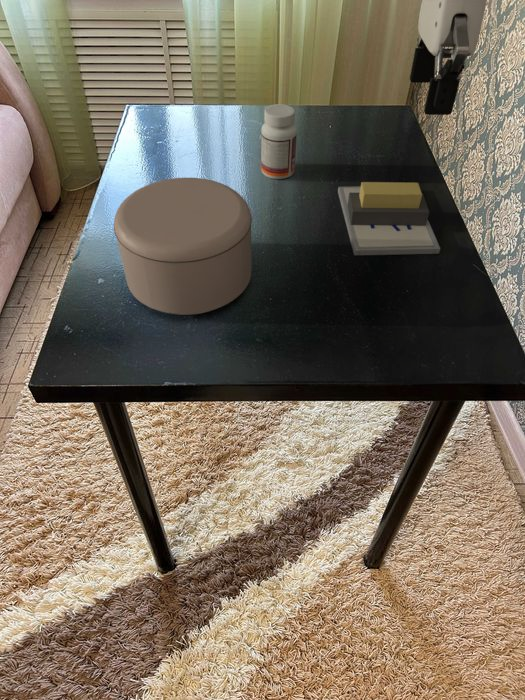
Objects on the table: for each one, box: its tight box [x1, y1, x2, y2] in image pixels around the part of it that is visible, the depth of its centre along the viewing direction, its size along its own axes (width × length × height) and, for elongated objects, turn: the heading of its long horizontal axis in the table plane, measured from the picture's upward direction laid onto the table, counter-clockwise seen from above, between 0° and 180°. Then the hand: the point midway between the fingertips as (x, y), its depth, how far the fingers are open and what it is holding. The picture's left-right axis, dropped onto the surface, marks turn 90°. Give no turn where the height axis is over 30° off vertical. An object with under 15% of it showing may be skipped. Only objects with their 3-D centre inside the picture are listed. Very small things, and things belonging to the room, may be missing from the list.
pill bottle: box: [260, 103, 298, 180], centre depth 94 cm, size 6×6×11 cm
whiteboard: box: [337, 185, 441, 256], centre depth 88 cm, size 18×13×1 cm
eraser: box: [347, 181, 430, 226], centre depth 86 cm, size 12×6×5 cm, turn 90°
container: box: [113, 177, 253, 316], centre depth 74 cm, size 18×18×12 cm
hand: (429, 97), depth 67 cm, fingers open, 9 cm apart
